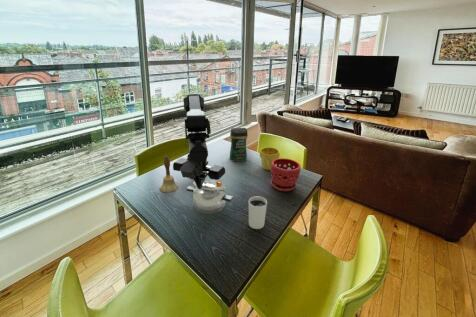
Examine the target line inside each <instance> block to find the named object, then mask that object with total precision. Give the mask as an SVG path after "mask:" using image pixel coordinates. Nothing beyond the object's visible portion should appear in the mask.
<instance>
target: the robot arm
mask: <svg viewBox="0 0 476 317" xmlns="http://www.w3.org/2000/svg"><path fill="white" fill-rule="evenodd" d="M182 102H183V111H185V114H186V118H184V132H185V133H184V134H185V137H184V138H185V140H188V146H189V147H188V153H187V158H185V157H180V158H179V159H177V160H175V161H174V162H173V164H172V170H173V171H175V172H176V171H177V172H180V174H181V176H182V178H187V179H190V180H193V181H195V183H196V185H197V187H198V189H201V188H202V185H203V183H204V180H206V178H207V177H209V180H214V181H219V180H220V179H221V178H222V177H223V176H224V175H225V174H226V168H225V166H223V165H218V164H214V165H213V166H209V161H208V157H209V151H208V146H207V141H206V140H207V139H209V138H210V135H211V134H212V131H211V122H210V119H209V117H206V112H205V111H204V110H205V98H204V97H202V96H201V94H200V93H199V92H197V93H196V92H195V93H186V96H185V97H184V98H183V100H182Z"/></svg>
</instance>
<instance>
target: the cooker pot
mask: <svg viewBox="0 0 476 317" xmlns="http://www.w3.org/2000/svg"><path fill="white" fill-rule="evenodd" d="M185 188H186V191H187V192H190V193H192V197H193V198H192V199H193V208H194V210H196V211H197V212H199V213H201V214H205V215H206V214H208V215H210V214H211V215H212V214H215V213H219V212H221V211H222V210H223V209H224V208H225V206H226V202H230V203H232V200H234V199H233V198H234V196H233V195H228V194H226V190H225V189H226V188H225V189H224V190H221V191H210V190H203V189H198V188H197V187H195V186H193V185H188V186H187V187H185Z"/></svg>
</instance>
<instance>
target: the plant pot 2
mask: <svg viewBox="0 0 476 317" xmlns="http://www.w3.org/2000/svg"><path fill="white" fill-rule="evenodd" d="M275 164H276V165H275ZM284 165H285V166H284ZM289 168H290V169H289ZM301 169H302V165H301V164H300V163H299V162H298V161H297V160H294V159H291V158H281V157H279V159H275V160H273V161H272V164H271V170H270V176H271V180H270V184H271V186H272V188H273V189H275V190H277V191H280V192H290V191H293V190H294V189H295V188H296V187H297V181H298V179H299V177H300V174H301Z"/></svg>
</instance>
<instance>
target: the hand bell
mask: <svg viewBox="0 0 476 317" xmlns="http://www.w3.org/2000/svg"><path fill="white" fill-rule="evenodd" d="M163 166H164V168H165V175H164V176H163V178H162V179H163V181H162V184H161V185H160V187H159V190H160V191H161V192H164V193H172V192H175V191H177V190H178V189H179V184H178V183H176V181H175V179H174V176H173V175H171V172H170V166H171V160H170V158H169V156H168V155H165V156H164V159H163Z"/></svg>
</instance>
